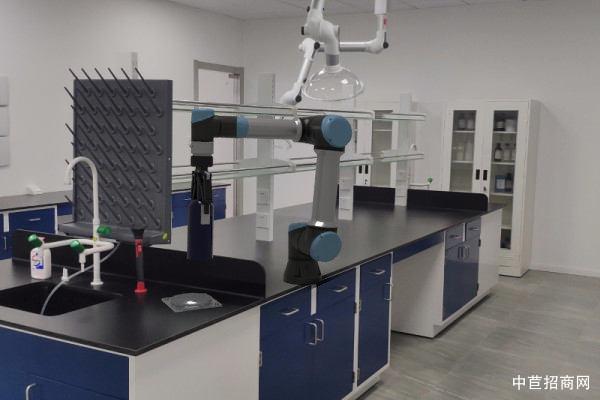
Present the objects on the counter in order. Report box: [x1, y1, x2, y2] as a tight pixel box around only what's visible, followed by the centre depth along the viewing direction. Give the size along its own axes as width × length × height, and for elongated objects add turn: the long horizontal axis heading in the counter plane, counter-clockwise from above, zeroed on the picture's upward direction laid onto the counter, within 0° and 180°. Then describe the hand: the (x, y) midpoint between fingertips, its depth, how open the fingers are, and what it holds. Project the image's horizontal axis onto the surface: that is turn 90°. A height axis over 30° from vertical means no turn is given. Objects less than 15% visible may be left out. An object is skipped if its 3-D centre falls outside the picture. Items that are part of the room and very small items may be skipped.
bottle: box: [186, 170, 215, 262], centre depth 211 cm, size 9×9×30 cm
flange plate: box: [161, 292, 223, 313], centre depth 212 cm, size 16×16×2 cm
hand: (200, 222), depth 212 cm, fingers closed on bottle, 9 cm apart
